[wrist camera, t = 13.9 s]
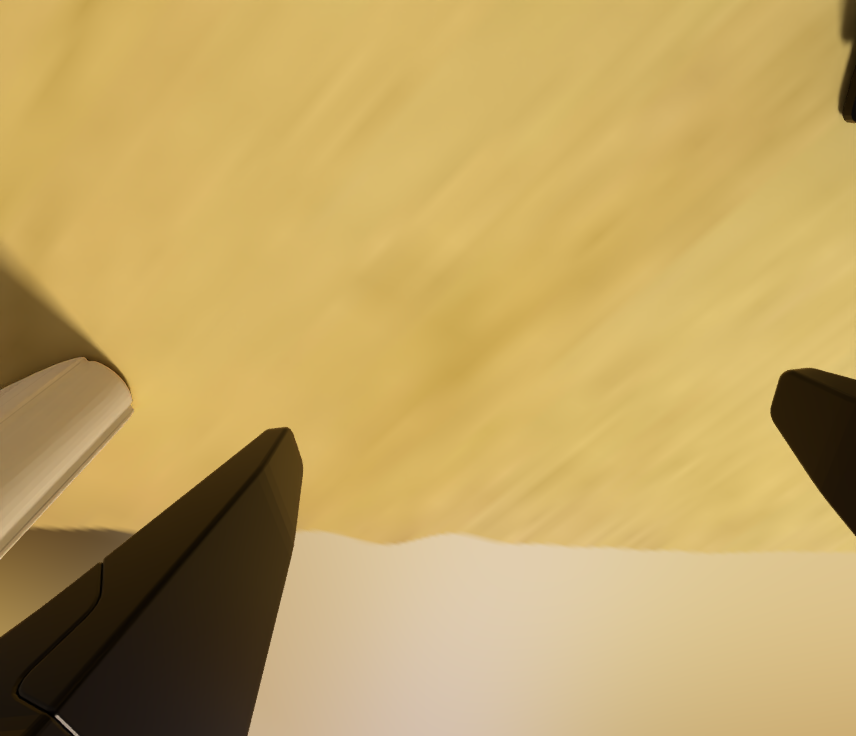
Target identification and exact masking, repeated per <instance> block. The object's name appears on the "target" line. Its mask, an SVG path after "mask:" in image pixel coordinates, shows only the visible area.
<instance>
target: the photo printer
mask: <svg viewBox="0 0 856 736" xmlns="http://www.w3.org/2000/svg"><path fill="white" fill-rule="evenodd" d="M131 402H132V397H131V393H130V391H129V389H128V387H127V385H126V384H125V382H124V381H123V380H122V379H121V378H120V377H119V376H118V375H117V374H116V373H115V372H114V371H112V370H111V369H110V368H108V367H106V366H105V365H103V364H101V363H99V362H96V361H88V360H87V359H86V358H85V357H78V358H74V359H70V360H67V361H63V362H60V363H58V364H55V365H53V366H50V367H48V368H46V369H44V370H41V371H38V372H36V373H34V374H32V375H30V376H28V377H26V378H24V379H22V380H19V381H17V382H15V383H13V384H11V385H9V386H7V387H5V388H3V389H1V390H0V559H1V558H2V557H3V556H4V555H5V553H7V552H8V550H9V549H10V548H11V547H12V546H13V545H14V544H15V543H16V542H17V540H19V539H20V537H21V536H22V535H23V534H24V533H25V532H26V531H27V530H28V529H29V528H30V527H31V526H32V525H33V524H34V523H35V521H36V520H37V519H38V518H39V517H40V516H41V515H42V514H43V513H44V512H45V511H46V510H47V508H48V507H49V506H50V505H51V504H52V503H53V502H54V501H55V500H56V499H57V498H58V497H59V495H60V494H61V493H62V492H63V491H64V490H65V489H66V488H67V487H68V486H69V485H70V484H71V482H72V481H73V480H74V479H75V478H76V477H77V476H78V475H79V474H80V473H81V472H82V470H83V469H84V468H85V467H86V466H87V465H88V464H89V463H90V462H91V461H92V460H93V459H94V457H95V456H96V455H97V454H98V453H99V452H100V451H101V450H102V449H103V448H104V446H105V445H106V444H107V443H108V442H109V441H110V440H111V439H112V438H113V436H114V435H115V434H116V433H117V432H118V431H119V430H120V429H121V428H122V427H123V425H124V424H125V423H126V422H127V421H128V420H129V418H130V417H131V415H132V414H133V412H134V409H133V408H132V407H131Z"/></svg>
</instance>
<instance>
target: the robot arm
mask: <svg viewBox="0 0 856 736" xmlns="http://www.w3.org/2000/svg"><path fill="white" fill-rule="evenodd" d="M843 118H844V120H845V121H846V122H849V123H856V66H855V70H854V73H853V77H852V81H851V84H850V88H849V91H848V95H847V98H846V102H845V105H844V109H843ZM770 413H771V417H772V420H773V422H774V424H775V425H776V427H777V428H778V430H779V431H780V433H781V434H782V436H783V437H784V439H785V440H786V442H787V443H788V445H789V446H790V448H791V449H792V451H793V453H794V454H795V456H796V457H797V459H798V460H799V462H800V463H801V465H802V466H803V468H804V469H805V471H806V472H807V474H808V475H809V477H810V478H811V480H812V481H813V483H814V484H815V485H816V487H817V488H818V490H819V491H820V492H821V494H822V495H823V496H824V498H825V499H826V500H827V502H828V503H829V504H830V505H831V507H832V508H833V509H834V510H835V511H836V513H837V514H838V515H839V516H840V518H841V519H842V520H843V521H844V522H845V524H846V525H847V526H848V527H849V529H850V530H851V531H852V532H853V534H854V535H855V536H856V380H855V379H852V378H848V377H844V376H840V375H837V374H833V373H829V372H825V371H822V370H818V369H814V368H801V369H793V370H787V371H785V372H784V373H783V374H782V375H781V376H780V378H779V381H778V385H777V388H776V391H775V395H774V398H773V401H772V405H771V412H770ZM302 477H303V463H302V459H301V456H300V453H299V450H298V447H297V444H296V441H295V438H294V435H293V432H292V431H291V429H290V428H288V427H282V428H273V429H268V430H266V431H264V432H263V433H262V434H261V435H259V436H258V437H257V438H256V439H254V440H253V441H252V442H251V443H249V444H248V445H247V446H245V447H244V448H243V449H242V450H240V451H239V452H238V453H237V454H235V455H234V456H233V457H232V458H230V459H229V460H228V461H227V462H225V463H224V464H223V465H221V466H220V467H219V468H218V469H216V470H215V471H214V472H213V473H211V474H210V475H209V476H208V477H206V478H205V479H204V480H203V481H201V482H200V483H199V484H197V485H196V486H195V487H194V488H192V489H191V490H190V491H189V492H187V493H186V494H185V495H184V496H182V497H181V498H180V499H178V500H177V501H176V502H175V503H173V504H172V505H171V506H170V507H168V508H167V509H166V510H165V511H163V512H162V513H161V514H160V515H158V516H157V517H156V518H154V519H153V520H152V521H151V522H149V523H148V524H147V525H146V526H144V527H143V528H142V529H141V530H139V531H138V532H137V533H136V534H134V535H133V536H132V537H130V538H129V539H128V540H127V541H125V542H124V543H123V544H122V545H120V546H119V547H118V548H117V549H115V550H114V551H113V552H111V553H110V554H109V555H108V556H106V557H105V558H104V560H103V563H102V562H100V563H97V564H96V565H95V566H94V567H92V568H91V569H90V570H89V571H87V572H86V573H85V574H84V575H82V576H81V577H80V578H79V579H77V580H76V581H75V582H73V583H72V584H71V585H70V586H69V587H67V588H66V589H65V590H63V591H62V592H60V593H59V594H58V595H57V596H55V597H54V598H53V599H51V600H50V601H49V602H48V603H46V604H45V605H44V606H42V607H41V608H40V609H38V610H37V611H36V612H34V613H33V614H32V615H30V616H29V617H28V618H26V619H25V620H23V621H22V622H21V623H19V624H18V625H16V626H15V627H14V628H12V629H11V630H9V631H8V632H7V633H5V634H4V635H3V636H2V637H0V736H247V735H248V731H249V727H250V723H251V718H252V715H253V711H254V707H255V703H256V699H257V695H258V691H259V686H260V682H261V678H262V674H263V670H264V666H265V662H266V658H267V654H268V650H269V646H270V642H271V638H272V633H273V630H274V625H275V621H276V617H277V613H278V609H279V605H280V601H281V597H282V593H283V588H284V585H285V581H286V577H287V572H288V568H289V564H290V560H291V556H292V551H293V547H294V540H295V534H296V526H297V518H298V509H299V501H300V493H301V485H302Z"/></svg>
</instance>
